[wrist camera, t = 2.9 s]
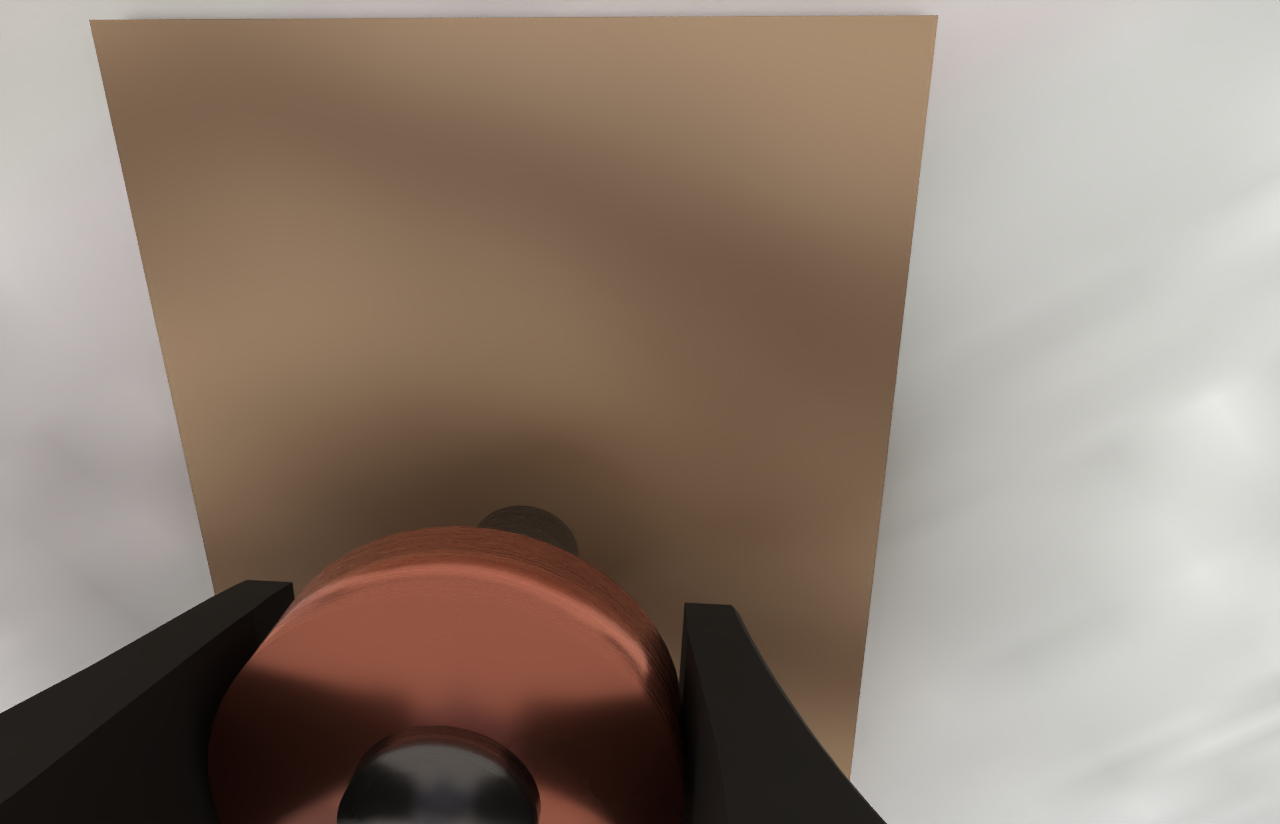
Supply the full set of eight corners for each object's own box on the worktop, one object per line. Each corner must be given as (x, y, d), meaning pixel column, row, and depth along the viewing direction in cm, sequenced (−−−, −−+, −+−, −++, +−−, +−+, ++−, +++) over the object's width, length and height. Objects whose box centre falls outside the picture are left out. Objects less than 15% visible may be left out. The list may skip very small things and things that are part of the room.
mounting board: (817, 962, 19) (824, 996, 18) (314, 948, 19) (299, 982, 19) (920, 21, 12) (938, 15, 11) (124, 25, 12) (88, 19, 12)
